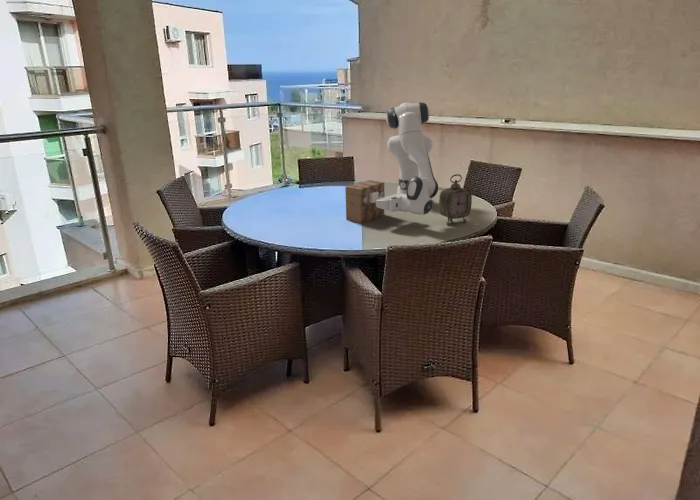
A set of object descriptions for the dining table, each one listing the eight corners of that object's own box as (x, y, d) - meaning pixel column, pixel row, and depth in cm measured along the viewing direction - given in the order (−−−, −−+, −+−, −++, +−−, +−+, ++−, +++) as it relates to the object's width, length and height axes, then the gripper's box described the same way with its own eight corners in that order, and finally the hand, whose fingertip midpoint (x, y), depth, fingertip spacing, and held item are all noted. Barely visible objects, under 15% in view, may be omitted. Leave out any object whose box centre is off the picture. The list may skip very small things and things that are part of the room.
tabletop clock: (446, 226, 242) (449, 177, 233) (436, 222, 249) (438, 174, 241) (470, 222, 247) (473, 174, 239) (459, 218, 255) (462, 171, 246)
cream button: (371, 199, 258) (371, 190, 256) (378, 201, 255) (378, 191, 253) (365, 201, 254) (365, 192, 252) (372, 203, 251) (372, 193, 250)
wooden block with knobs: (370, 211, 271) (369, 179, 265) (386, 215, 264) (386, 182, 257) (346, 219, 257) (345, 186, 251) (362, 223, 250) (362, 189, 243)
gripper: (413, 192, 248) (392, 188, 256) (389, 200, 233) (367, 196, 242) (413, 204, 250) (392, 200, 259) (389, 212, 236) (367, 208, 244)
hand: (380, 198), depth 250 cm, fingers closed
